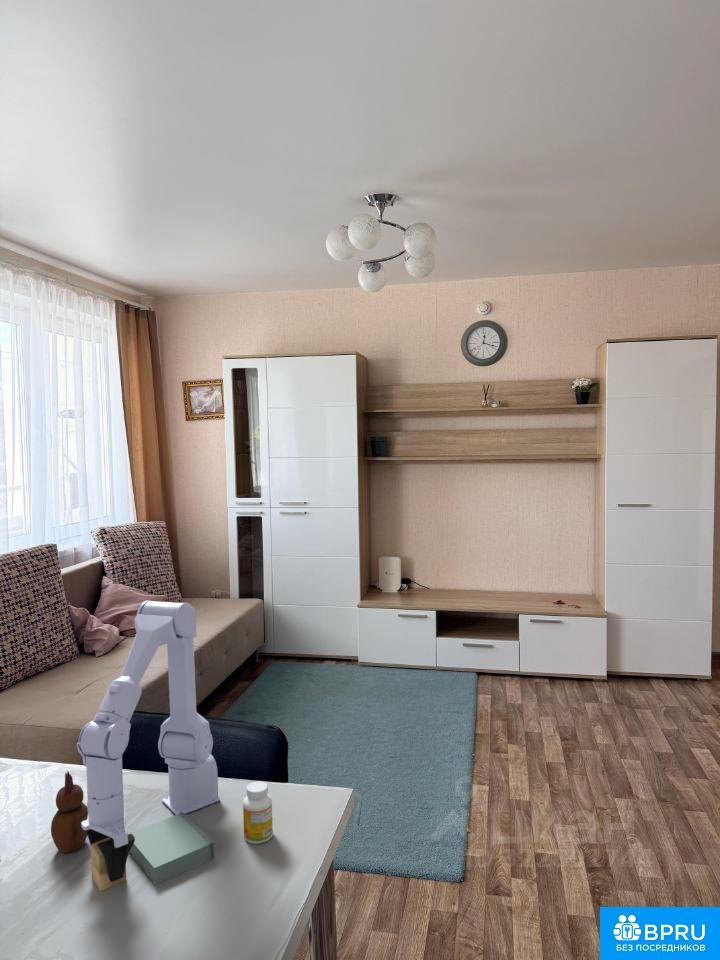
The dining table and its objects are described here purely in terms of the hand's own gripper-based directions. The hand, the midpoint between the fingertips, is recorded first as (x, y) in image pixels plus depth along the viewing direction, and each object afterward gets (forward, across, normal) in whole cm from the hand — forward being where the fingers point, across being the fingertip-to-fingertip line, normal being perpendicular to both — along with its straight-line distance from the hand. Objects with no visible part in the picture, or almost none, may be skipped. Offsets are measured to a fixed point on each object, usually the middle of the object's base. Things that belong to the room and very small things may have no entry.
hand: (108, 867), depth 117 cm
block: (+2, 0, 0) cm, 2 cm away
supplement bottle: (+2, +6, +26) cm, 27 cm away
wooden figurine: (+2, -14, -2) cm, 14 cm away
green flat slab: (+2, 0, +11) cm, 11 cm away
